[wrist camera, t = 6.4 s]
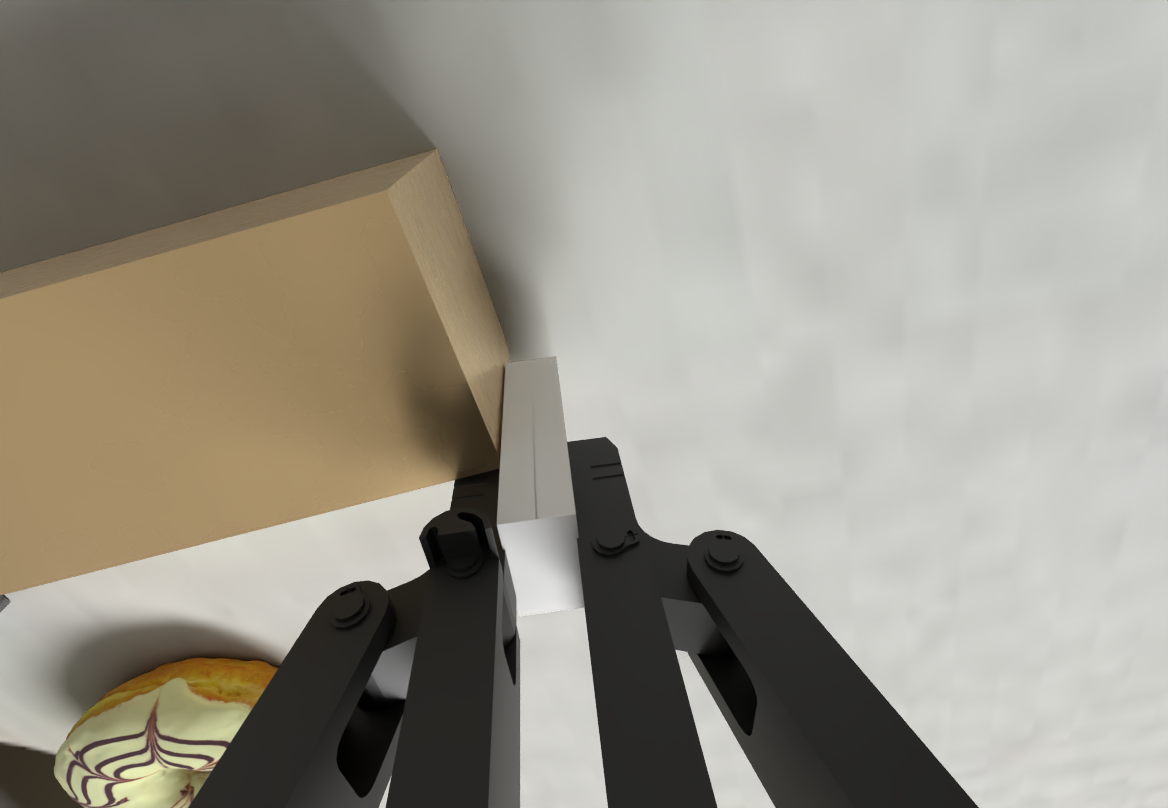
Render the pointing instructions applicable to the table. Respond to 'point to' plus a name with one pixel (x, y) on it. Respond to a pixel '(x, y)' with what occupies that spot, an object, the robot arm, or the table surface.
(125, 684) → the decorated donut
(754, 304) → the table surface
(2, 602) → the grey cradle stand
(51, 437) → the tan wooden brick
